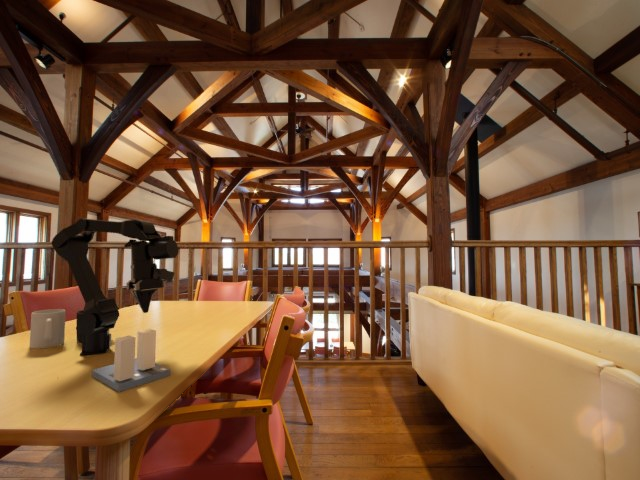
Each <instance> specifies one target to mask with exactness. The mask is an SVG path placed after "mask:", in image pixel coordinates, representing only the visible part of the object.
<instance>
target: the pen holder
mask: <svg viewBox="0 0 640 480" xmlns="http://www.w3.org/2000/svg"><path fill="white" fill-rule="evenodd" d="M83 310H84V309H80V310H78V311H76V327H77V326H78V325H79V324H80V323H81V321H82V320H83V319H84V315H83ZM82 335H83V334H77V333H76V342H78V343H80V344H82Z"/></svg>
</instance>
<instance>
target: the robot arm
mask: <svg viewBox="0 0 640 480" xmlns="http://www.w3.org/2000/svg"><path fill="white" fill-rule="evenodd" d="M96 232H98V233H110V234H118V235H120V236H124V237H125V238H129V240H128V242H126V243H125V244H124V248H130V250H131V252H130V253H131V265H130V269H132V270H131V272H132V278H131V279H129V280H128V281H127V283H126V290H130V293H132V295H133V297H134V299H135V300H136V302H137V304H138V305H139V308H140V309H141V311H142V313H143V314H147V313H148V312H149V309H150V306H151V305H150V304H151V301H152V296H153V294H155V292H157V291H158V290H159V289H162V288H164V287H165V286H164V282H166V283H173V281H174V278H175V274H176V272H174V271H171V270H168V269H167V268H163V267H160V268H158V265H157V263H154V260H155V261H156V260H167V259H176V258H177V257H178V254H179V252H180V251H179V246H178V243H177V242H176V241H175V239H174V235H166V236H165V235H164V236H162V235H161V234H160V233H159V232H158V231H157V230H156V227H155V225H154V223H153V222H152V221H147V220H141V219H126V220H122V221H113V220H100V219H93V218H86V217H82V218H79V219H78V220H76V222H75V223H72V224H71V225H69V226H67V227H64V228H62V229H61V230H60V231H59V232H58V233H56V234H55V236H54V237H53V238H52V240H51V246H52V248H53V250H54V251H55V252H56V254H57V256H59V258H61V259H63V260H64V261H65V262H67V264H68V266H69V268H70V270H71V273H72V275H73V278H74V280H75V283H76V284H77V286H78V287H77V288H78V290H79V292H80V294H81V296H82V298H83V301H84V303H85V304H84V308H83V309H82V310H83V315H84V319H83V320H82V321H81V323H80V324H79V325H78V326H77V325H76V327H75V329H76V335H77V334H83V335H82V343H81V351H80V353H79V356H85V355H86V356H87V355H96V354H105V353H107V352H108V350H109V349H110V348H111V347H112V333H110V330H111V329H114V328H115V326H116V323H117V321H118V319H119V317H120V311H119V310H120V308H119V307H118V304H117V302H116V299H115V298H107V297H106V296H105V294H104V292H103V290H102V288H101V286H100V284H99V281H98V279H97V277H96V275H95V272H94V270H93V268H92V265H91V263H90V261H89V259H88V253H89V249H90V247H89V244H90V242H92V241H93V240H94V237H95V234H96ZM136 239H137V240H138V241H137V240H136ZM131 289H132V290H131Z"/></svg>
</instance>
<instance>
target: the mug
mask: <svg viewBox="0 0 640 480" xmlns="http://www.w3.org/2000/svg"><path fill="white" fill-rule="evenodd" d="M30 315H31V316H30V333H29V349H32V348H33V350H38V349H39V350H40V348H43V349H48V348H49V347H50V348H55V347H58V346H61V345H63V344H64V343H65V339H66V338H65V336H66V335H65V331H66V329H65V328H66V310H65V309H64V308H51V309H42V310H35V311H33V312H31V314H30ZM54 346H55V347H54Z"/></svg>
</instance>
